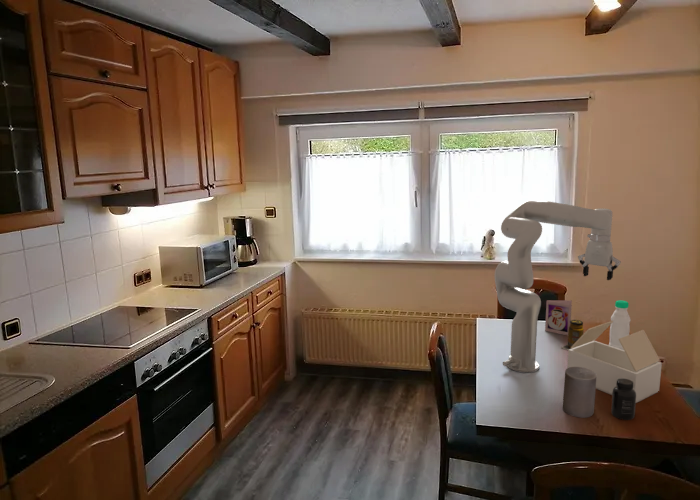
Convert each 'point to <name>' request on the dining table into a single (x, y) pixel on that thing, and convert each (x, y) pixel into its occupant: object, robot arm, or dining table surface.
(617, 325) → the water bottle
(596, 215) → the robot arm
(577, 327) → the condiment
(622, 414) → the supplement bottle
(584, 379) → the pillar candle
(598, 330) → the far flap
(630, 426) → the dining table surface
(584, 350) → the carton
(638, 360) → the near flap
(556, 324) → the greeting card
